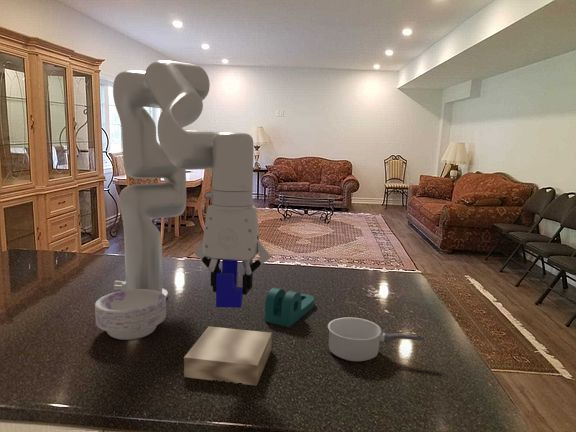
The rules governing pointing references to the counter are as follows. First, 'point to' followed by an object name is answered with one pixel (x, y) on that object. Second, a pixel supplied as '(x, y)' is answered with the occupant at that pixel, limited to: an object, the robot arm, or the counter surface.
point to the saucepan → (359, 338)
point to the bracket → (286, 306)
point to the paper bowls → (130, 313)
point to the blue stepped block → (228, 286)
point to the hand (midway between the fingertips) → (231, 290)
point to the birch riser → (228, 355)
